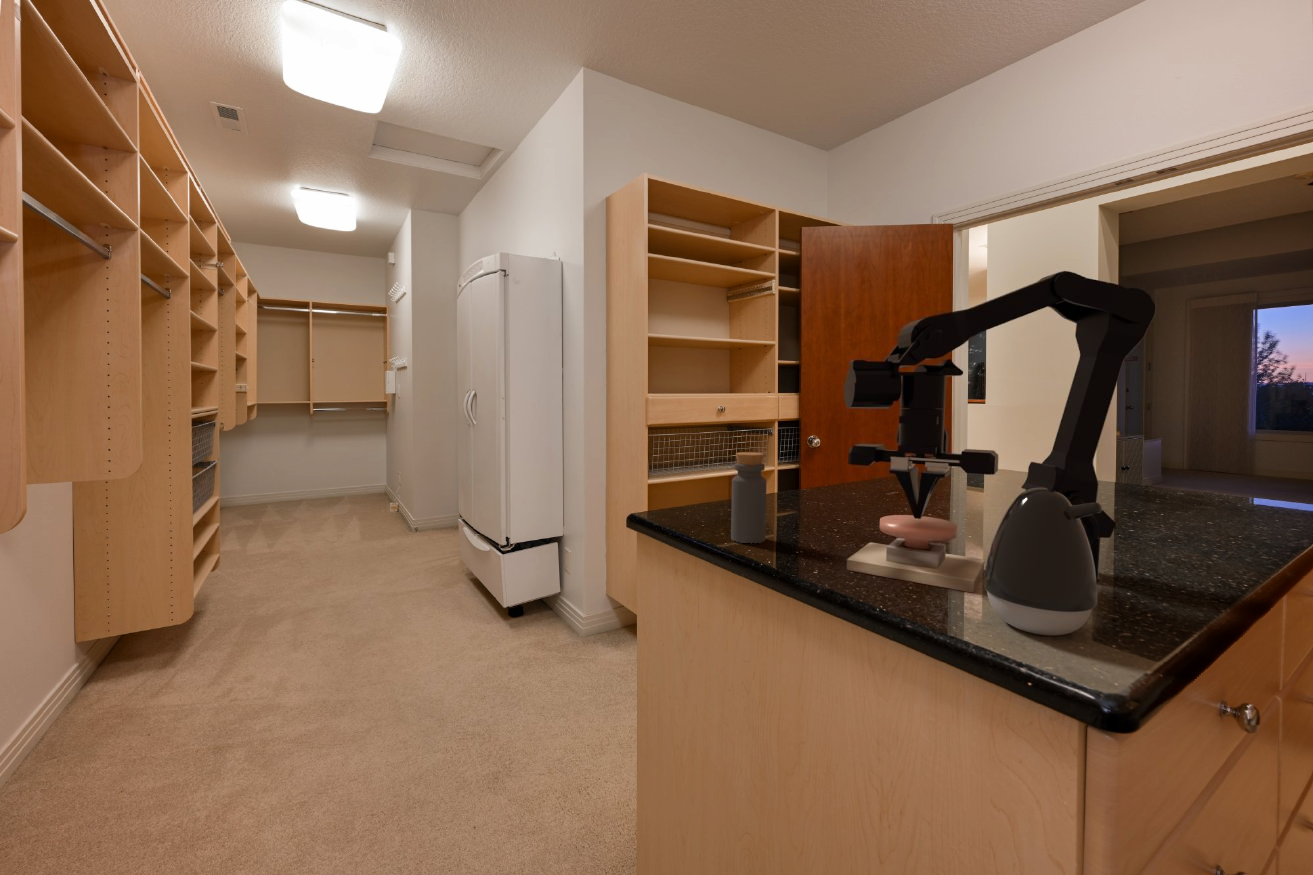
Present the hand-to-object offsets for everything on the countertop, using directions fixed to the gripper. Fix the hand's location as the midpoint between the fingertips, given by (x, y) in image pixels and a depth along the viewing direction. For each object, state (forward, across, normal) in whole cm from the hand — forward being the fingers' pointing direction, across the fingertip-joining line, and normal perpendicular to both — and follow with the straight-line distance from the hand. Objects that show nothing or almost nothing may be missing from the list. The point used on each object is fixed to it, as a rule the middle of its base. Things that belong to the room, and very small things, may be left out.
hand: (917, 518), depth 82 cm
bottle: (+8, +27, -1) cm, 28 cm away
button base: (+8, 0, 0) cm, 8 cm away
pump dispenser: (+8, -15, +14) cm, 22 cm away
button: (+4, 0, 0) cm, 4 cm away
